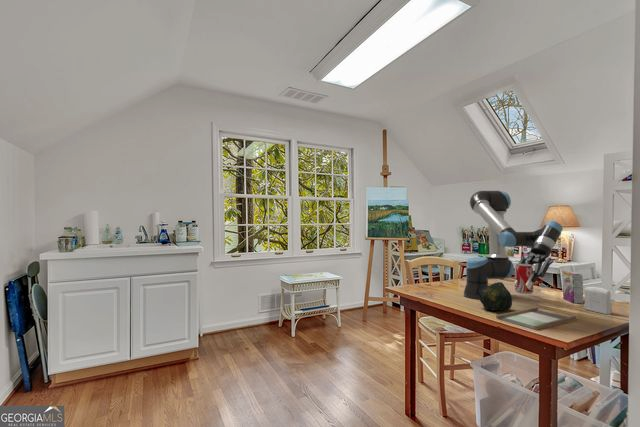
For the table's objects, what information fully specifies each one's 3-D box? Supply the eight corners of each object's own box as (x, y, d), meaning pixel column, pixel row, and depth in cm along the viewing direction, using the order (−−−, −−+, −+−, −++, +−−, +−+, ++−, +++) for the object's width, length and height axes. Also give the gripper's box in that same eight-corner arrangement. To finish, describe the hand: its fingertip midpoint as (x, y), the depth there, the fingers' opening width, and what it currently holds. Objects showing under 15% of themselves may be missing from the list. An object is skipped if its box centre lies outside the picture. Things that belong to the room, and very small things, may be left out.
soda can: (511, 291, 149) (511, 263, 150) (527, 291, 149) (526, 263, 149) (520, 294, 142) (519, 265, 143) (537, 294, 142) (536, 265, 142)
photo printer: (612, 314, 154) (612, 288, 155) (608, 315, 153) (607, 289, 153) (587, 308, 164) (587, 284, 164) (583, 309, 162) (582, 285, 162)
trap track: (496, 318, 149) (496, 315, 149) (535, 309, 162) (535, 307, 162) (536, 330, 132) (536, 326, 132) (576, 319, 146) (576, 316, 146)
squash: (469, 297, 167) (488, 278, 160) (483, 294, 176) (502, 276, 169) (490, 320, 158) (511, 301, 151) (503, 316, 167) (524, 298, 160)
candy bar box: (562, 298, 185) (561, 270, 186) (571, 299, 184) (571, 270, 185) (573, 303, 174) (572, 273, 175) (583, 304, 173) (583, 274, 174)
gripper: (566, 254, 144) (546, 295, 136) (527, 251, 160) (507, 287, 152) (559, 243, 142) (538, 283, 134) (520, 241, 157) (499, 277, 150)
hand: (521, 285), depth 143 cm, fingers closed on soda can, 4 cm apart
